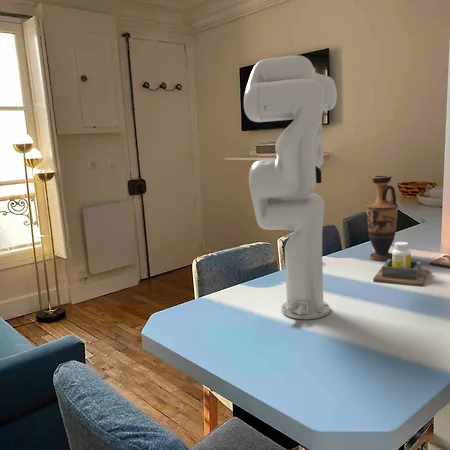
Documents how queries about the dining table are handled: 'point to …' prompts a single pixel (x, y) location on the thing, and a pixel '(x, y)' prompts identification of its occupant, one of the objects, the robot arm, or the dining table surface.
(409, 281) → the holder
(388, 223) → the vase
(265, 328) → the dining table surface
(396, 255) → the supplement bottle
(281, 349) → the dining table surface
